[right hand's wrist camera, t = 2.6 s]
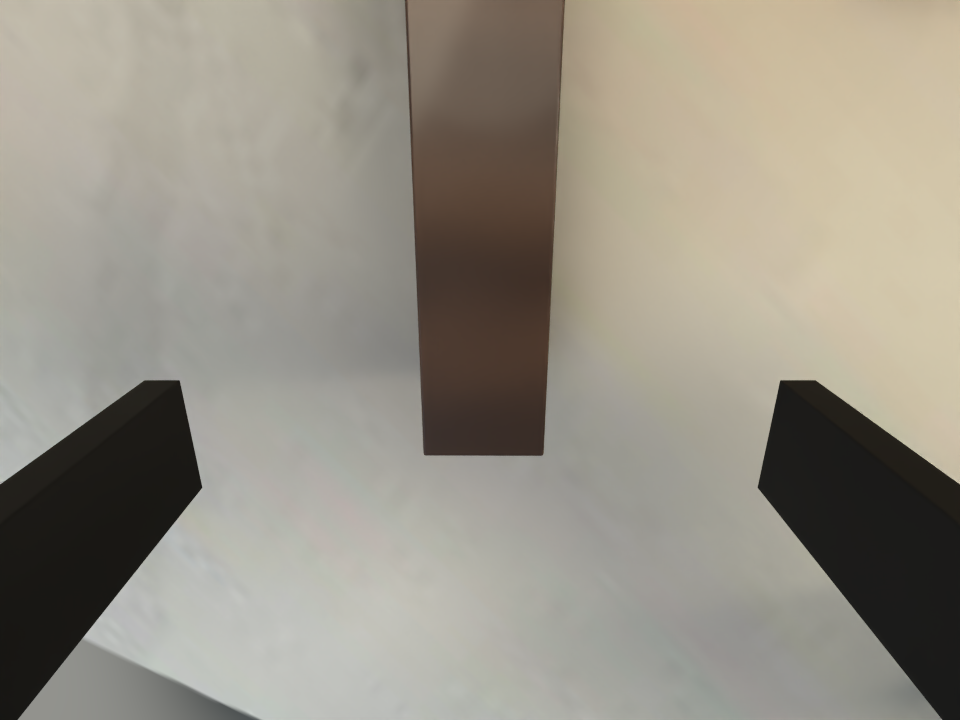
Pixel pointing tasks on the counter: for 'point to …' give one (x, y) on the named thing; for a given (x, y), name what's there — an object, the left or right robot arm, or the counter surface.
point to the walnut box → (484, 216)
